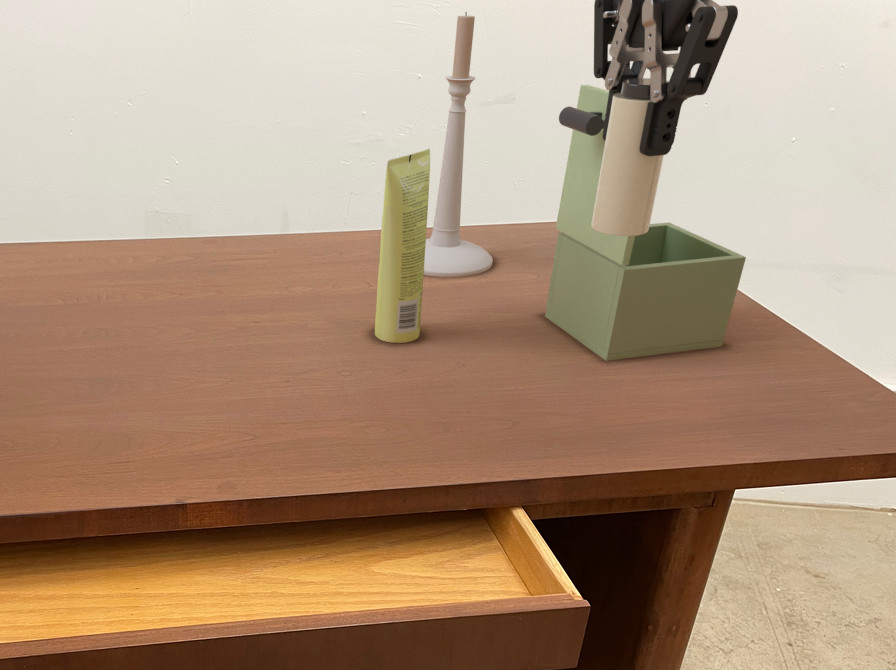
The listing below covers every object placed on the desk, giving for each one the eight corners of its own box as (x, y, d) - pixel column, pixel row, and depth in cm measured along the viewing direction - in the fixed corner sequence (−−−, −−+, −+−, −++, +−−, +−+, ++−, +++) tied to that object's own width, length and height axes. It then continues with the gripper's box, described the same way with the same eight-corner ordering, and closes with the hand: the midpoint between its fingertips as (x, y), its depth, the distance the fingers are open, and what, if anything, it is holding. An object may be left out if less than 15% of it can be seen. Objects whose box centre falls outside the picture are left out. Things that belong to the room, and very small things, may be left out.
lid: (587, 84, 93) (542, 86, 92) (664, 106, 83) (614, 108, 82) (561, 228, 101) (520, 231, 100) (628, 265, 90) (583, 268, 89)
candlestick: (501, 277, 118) (535, 16, 102) (401, 278, 118) (419, 17, 103) (481, 246, 129) (509, 6, 113) (389, 247, 129) (404, 7, 113)
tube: (371, 326, 105) (381, 147, 95) (416, 325, 105) (430, 146, 95) (376, 345, 100) (387, 160, 90) (423, 345, 100) (439, 159, 90)
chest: (650, 305, 109) (669, 222, 104) (721, 347, 98) (746, 257, 93) (544, 317, 106) (558, 232, 101) (605, 362, 96) (624, 269, 91)
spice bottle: (628, 218, 77) (655, 75, 71) (660, 233, 73) (691, 84, 67) (580, 223, 76) (604, 79, 70) (610, 238, 72) (637, 87, 67)
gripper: (808, -120, 57) (738, 164, 66) (667, -113, 69) (624, 127, 78) (702, -118, 56) (645, 172, 65) (577, -111, 68) (544, 133, 77)
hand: (634, 146), depth 71 cm, fingers closed on spice bottle, 4 cm apart
